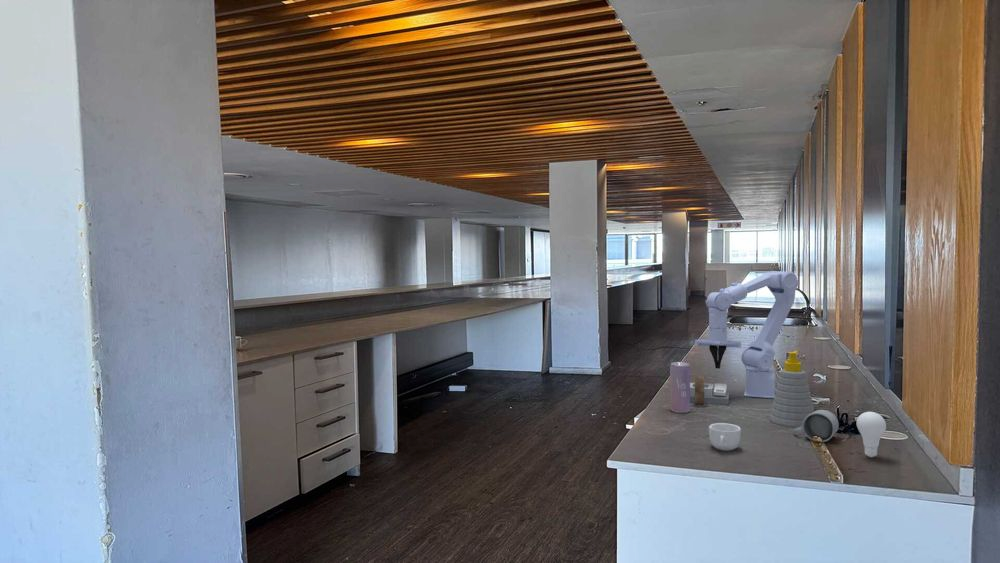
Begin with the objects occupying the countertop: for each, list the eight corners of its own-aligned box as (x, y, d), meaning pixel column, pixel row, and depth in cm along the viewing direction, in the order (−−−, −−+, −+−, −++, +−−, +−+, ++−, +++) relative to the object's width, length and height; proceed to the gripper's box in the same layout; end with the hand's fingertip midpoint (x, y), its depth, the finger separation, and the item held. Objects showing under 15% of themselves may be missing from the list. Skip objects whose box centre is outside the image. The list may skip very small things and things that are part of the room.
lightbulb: (850, 453, 154) (850, 409, 153) (874, 452, 154) (874, 408, 154) (867, 462, 148) (867, 415, 147) (891, 460, 148) (892, 414, 148)
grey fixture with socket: (729, 397, 214) (729, 384, 213) (728, 405, 204) (728, 391, 203) (690, 394, 219) (690, 381, 219) (686, 402, 209) (686, 388, 208)
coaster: (707, 404, 205) (707, 403, 205) (706, 407, 201) (706, 406, 201) (693, 403, 207) (692, 402, 207) (691, 406, 202) (691, 405, 202)
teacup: (711, 442, 165) (711, 421, 165) (742, 445, 162) (742, 424, 162) (705, 453, 157) (705, 431, 156) (738, 457, 153) (738, 435, 153)
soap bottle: (822, 420, 183) (822, 351, 182) (808, 430, 174) (808, 357, 173) (778, 413, 192) (778, 347, 191) (763, 422, 183) (763, 353, 182)
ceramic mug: (840, 437, 167) (839, 408, 167) (834, 444, 161) (833, 415, 161) (797, 431, 174) (796, 403, 174) (790, 438, 168) (789, 410, 167)
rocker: (726, 387, 212) (726, 383, 212) (725, 395, 206) (725, 392, 205) (715, 386, 213) (715, 382, 213) (713, 395, 207) (713, 391, 207)
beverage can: (688, 408, 200) (687, 361, 199) (691, 413, 194) (691, 365, 193) (668, 408, 201) (668, 362, 200) (672, 413, 195) (671, 365, 194)
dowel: (704, 403, 204) (704, 376, 204) (704, 405, 202) (704, 378, 201) (694, 403, 205) (694, 375, 205) (694, 405, 202) (694, 377, 202)
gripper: (694, 328, 211) (694, 368, 211) (740, 330, 205) (740, 371, 206) (696, 326, 217) (696, 365, 218) (741, 327, 212) (741, 367, 212)
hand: (717, 368), depth 212 cm, fingers closed
